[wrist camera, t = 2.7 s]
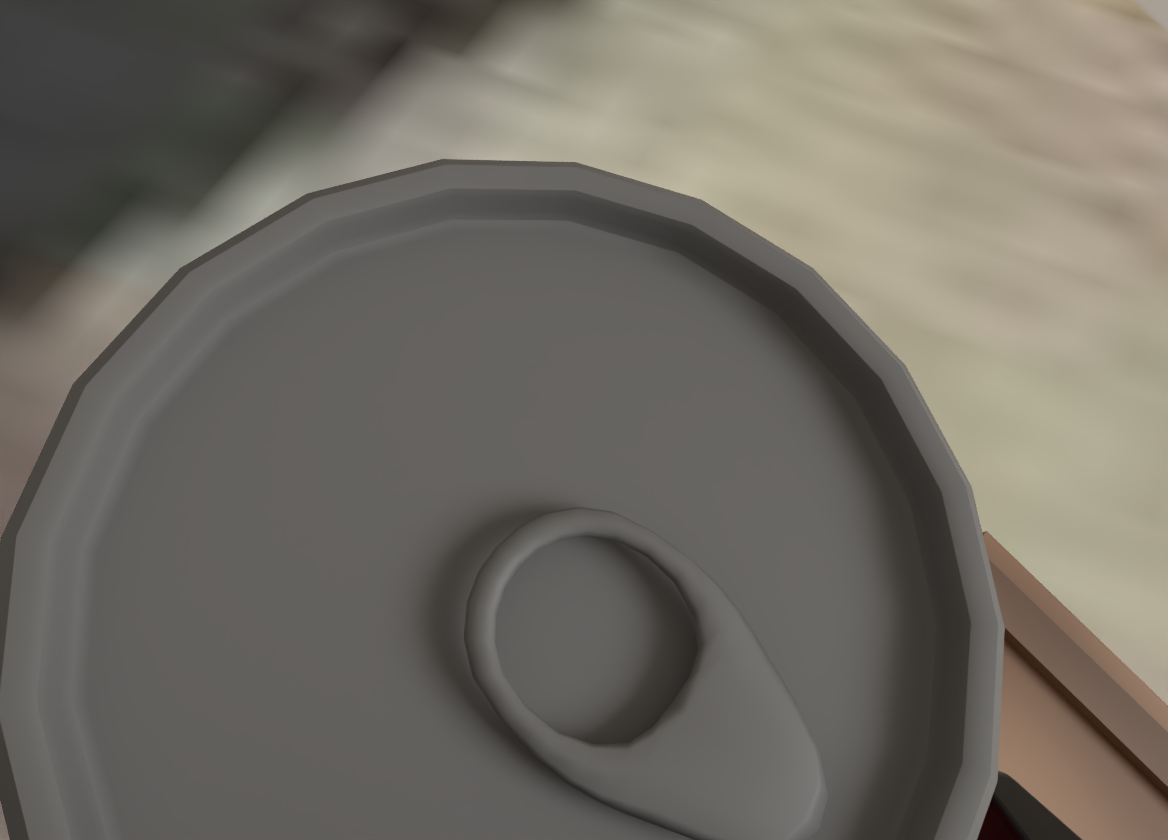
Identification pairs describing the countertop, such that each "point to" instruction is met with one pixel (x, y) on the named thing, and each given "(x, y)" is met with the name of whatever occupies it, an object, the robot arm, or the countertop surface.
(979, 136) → the countertop surface
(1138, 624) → the countertop surface
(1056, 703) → the walnut board
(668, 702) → the beer can
